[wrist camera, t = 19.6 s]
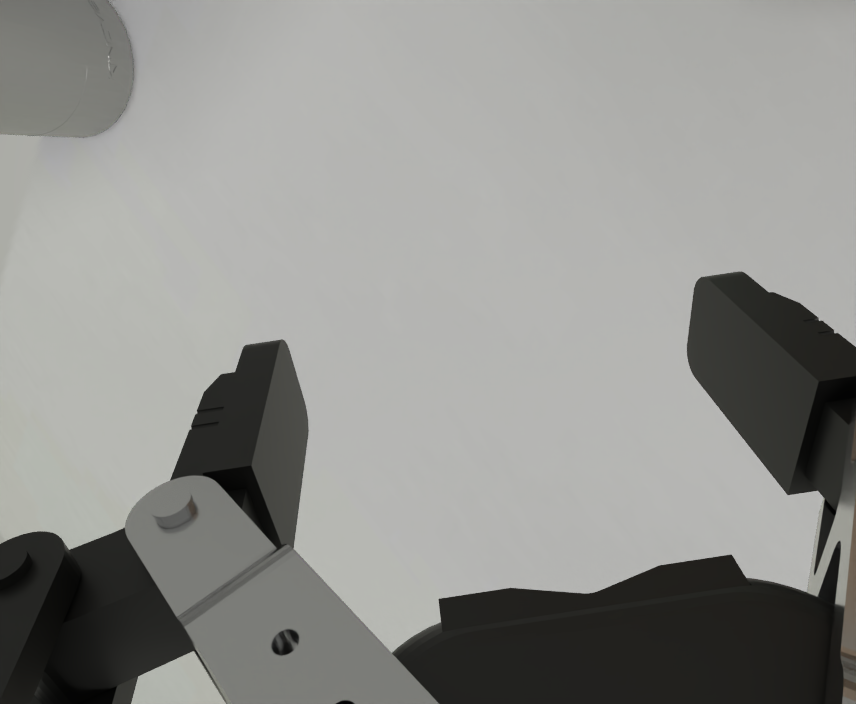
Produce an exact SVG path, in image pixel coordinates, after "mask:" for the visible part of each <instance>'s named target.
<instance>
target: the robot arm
mask: <svg viewBox="0 0 856 704" xmlns="http://www.w3.org/2000/svg"><path fill="white" fill-rule="evenodd" d="M132 84H133V56H132V51H131V45H130V42H129V39H128V36H127V33H126V30H125V27H124V25H123V23H122V22H121V20H120V18H119V16H118V14H117V13H116V11H115V10H114V8H113V7H112V6H111V5H110V3H109V2H108V1H107V0H0V134H8V135H28V136H52V137H79V138H84V137H89V136H94V135H97V134H99V133H101V132H103V131H105V130H107V129H108V128H109V127H110V126H112V125H113V124H114V123H115V122H116V121H117V120H118V118H119V117H120V115H121V114H122V112H123V111H124V110H125V108H126V105H127V102H128V100H129V97H130V95H131V90H132ZM687 356H688V362H689V366H690V369H691V371H692V373H693V375H694V377H695V378H696V379H697V381H698V382H699V383H700V384H701V386H702V387H703V388H704V389H705V391H706V392H707V393H708V395H709V396H710V397H711V398H712V400H713V401H714V402H715V403H716V405H717V406H718V407H719V408H720V410H721V411H722V412H723V414H724V415H725V416H726V417H727V419H728V420H729V421H730V422H731V424H732V425H733V426H734V427H735V429H736V430H737V431H738V433H739V434H740V435H741V436H742V438H743V439H744V440H745V441H746V443H747V444H748V445H749V447H750V448H751V449H752V450H753V452H754V453H755V454H756V455H757V457H758V458H759V459H760V460H761V462H762V463H763V464H764V466H765V467H766V468H767V469H768V471H769V472H770V473H771V474H772V476H773V477H774V478H775V479H776V481H777V482H778V483H779V485H780V486H781V487H782V488H783V490H784V491H785V492H786V493H787V495H792V494H798V493H805V492H811V491H819V492H820V494H821V495H822V496H823V497H824V498H823V502H822V505H821V508H820V511H819V516H818V522H817V529H816V535H815V542H814V548H813V555H812V562H811V568H810V575H809V581H808V588H807V592H804V591H801V590H798V589H796V588H793V587H789V586H785V585H782V584H778V583H774V582H769V581H764V580H758V579H752V578H746V577H745V576H744V574H743V572H742V571H741V569H740V567H739V566H738V564H737V563H736V561H735V559H734V558H733V556H732V555H726V556H719V557H713V558H706V559H700V560H693V561H686V562H680V563H673V564H666V565H660V566H657V567H655V568H653V569H650V570H648V571H646V572H643V573H641V574H638V575H636V576H634V577H631V578H629V579H627V580H624V581H622V582H619V583H617V584H615V585H612V586H610V587H608V588H605V589H603V590H600V591H598V592H595V593H589V594H581V593H568V592H555V591H542V590H529V589H516V588H508V589H501V590H495V591H488V592H482V593H475V594H468V595H462V596H455V597H448V598H442V599H439V606H440V615H441V623H438V624H436V625H434V626H431V627H429V628H427V629H425V630H423V631H422V632H420V633H418V634H416V635H415V636H413V637H411V638H410V639H409V640H407V641H406V642H405V643H403V644H402V645H401V646H399V647H398V648H397V649H396V650H395V651H394V652H393V653H391V652H390V651H389V650H388V649H387V648H386V647H385V646H384V644H383V643H382V642H381V641H380V640H379V639H378V638H377V637H376V636H375V635H374V634H373V633H372V632H371V631H370V630H369V629H368V627H367V626H366V625H365V624H364V623H363V622H362V621H361V620H360V619H359V618H358V617H357V616H356V615H355V614H354V613H353V611H352V610H351V609H350V608H349V607H348V606H347V605H346V604H345V603H344V602H343V601H342V600H341V599H340V598H339V597H338V595H337V594H336V593H335V592H334V591H333V590H332V589H331V588H330V587H329V586H328V585H327V584H326V583H325V582H324V581H323V579H322V578H321V577H320V576H319V575H318V574H317V573H316V572H315V571H314V570H313V569H312V568H311V567H310V566H309V565H308V564H307V562H306V561H305V560H304V559H303V558H302V557H301V556H300V555H299V554H298V553H297V552H296V551H295V550H294V549H293V548H294V540H295V532H296V525H297V517H298V509H299V501H300V494H301V486H302V478H303V470H304V463H305V455H306V447H307V439H308V417H307V410H306V405H305V402H304V398H303V395H302V391H301V388H300V385H299V381H298V378H297V375H296V371H295V368H294V365H293V361H292V358H291V354H290V351H289V348H288V346H287V344H286V342H285V341H284V340H276V341H270V342H263V343H256V344H250V345H245V346H244V348H243V350H242V353H241V356H240V359H239V362H238V365H237V368H236V371H235V372H234V373H227V374H221V375H220V376H219V377H218V378H217V379H216V380H215V381H214V382H213V383H212V384H211V385H210V387H209V388H208V389H207V390H206V391H205V392H204V394H203V396H202V399H201V402H200V404H199V407H198V409H197V413H198V414H196V415H195V417H194V420H193V422H192V425H191V427H192V430H189V433H188V435H187V438H186V441H185V443H184V446H183V448H182V451H181V454H180V456H179V459H178V461H177V464H176V467H175V469H174V472H173V474H172V477H171V480H170V481H168V482H166V483H164V484H162V485H160V486H158V487H156V488H155V489H153V490H151V491H150V492H149V493H147V494H146V495H145V496H144V497H142V498H141V499H140V500H139V501H138V502H137V503H136V505H135V506H134V507H133V508H132V510H131V512H130V513H129V515H128V518H127V520H126V524H125V528H123V529H121V530H119V531H116V532H114V533H112V534H109V535H107V536H104V537H101V538H99V539H96V540H94V541H91V542H89V543H86V544H83V545H81V546H78V547H76V548H73V549H71V550H69V549H68V548H67V546H66V545H65V543H64V542H63V540H62V539H61V538H60V537H59V536H58V535H56V534H54V533H50V532H32V533H27V534H23V535H20V536H17V537H14V538H12V539H10V540H7V541H5V542H3V543H1V544H0V704H131V701H132V698H133V694H134V690H135V686H136V682H137V679H138V676H140V675H142V674H144V673H146V672H148V671H151V670H153V669H155V668H157V667H159V666H161V665H164V664H166V663H168V662H170V661H172V660H175V659H177V658H179V657H181V656H183V655H185V654H188V653H190V652H192V651H194V652H195V654H196V656H197V657H198V659H199V661H200V662H201V664H202V666H203V667H204V669H205V670H206V672H207V674H208V675H209V677H210V679H211V680H212V682H213V683H214V685H215V687H216V688H217V690H218V692H219V693H220V695H221V696H222V698H223V700H224V701H225V703H226V704H856V347H855V346H854V345H852V344H851V343H850V342H848V341H847V340H846V339H845V338H843V337H842V336H841V335H840V334H838V333H836V334H835V333H834V330H833V329H832V328H831V327H829V326H828V325H827V324H826V323H824V322H823V321H819V320H818V317H817V316H815V315H814V314H813V313H812V312H810V311H809V310H808V309H807V308H805V307H804V306H803V305H801V304H800V303H798V302H796V301H793V300H791V299H788V298H786V297H783V296H781V295H779V294H776V293H774V292H770V293H769V292H767V291H766V290H765V289H764V288H763V287H761V286H760V285H759V284H758V283H757V282H755V281H754V280H753V279H752V278H750V277H749V276H748V275H747V274H745V273H744V272H733V273H726V274H720V275H713V276H707V277H701V278H700V279H698V281H697V282H696V284H695V288H694V294H693V302H692V310H691V318H690V326H689V335H688V343H687Z"/></svg>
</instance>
